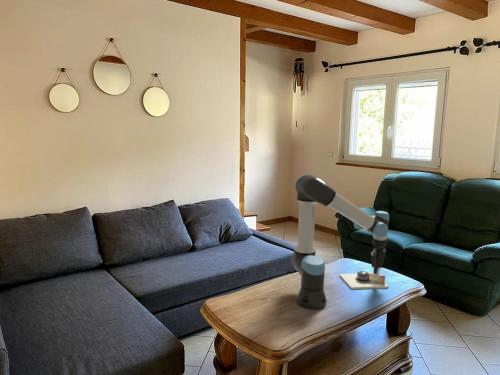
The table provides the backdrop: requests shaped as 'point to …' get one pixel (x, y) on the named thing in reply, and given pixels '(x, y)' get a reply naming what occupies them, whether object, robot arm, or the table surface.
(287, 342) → the table surface
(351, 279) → the board
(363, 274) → the peg dial
